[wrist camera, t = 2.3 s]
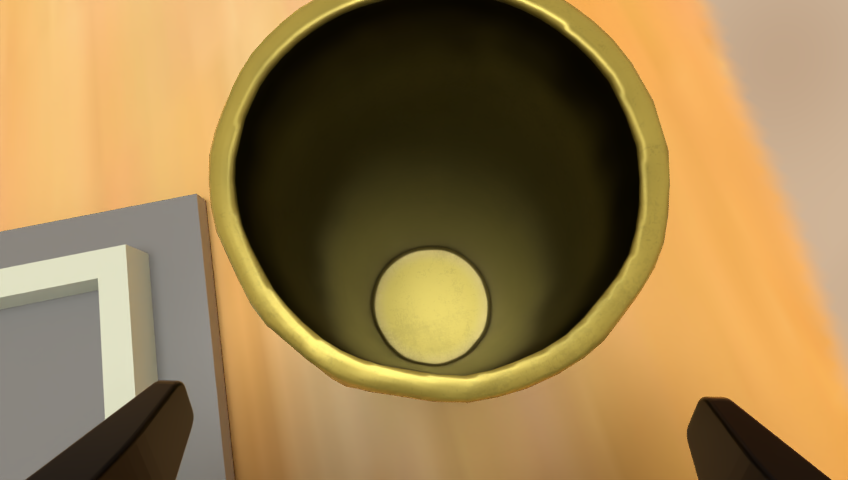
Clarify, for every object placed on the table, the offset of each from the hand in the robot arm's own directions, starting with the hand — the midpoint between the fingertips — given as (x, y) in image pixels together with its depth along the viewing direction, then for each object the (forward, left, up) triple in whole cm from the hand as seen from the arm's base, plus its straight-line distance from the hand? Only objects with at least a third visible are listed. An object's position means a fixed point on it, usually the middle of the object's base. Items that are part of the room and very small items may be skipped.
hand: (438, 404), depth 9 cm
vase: (+3, 0, -10) cm, 11 cm away
